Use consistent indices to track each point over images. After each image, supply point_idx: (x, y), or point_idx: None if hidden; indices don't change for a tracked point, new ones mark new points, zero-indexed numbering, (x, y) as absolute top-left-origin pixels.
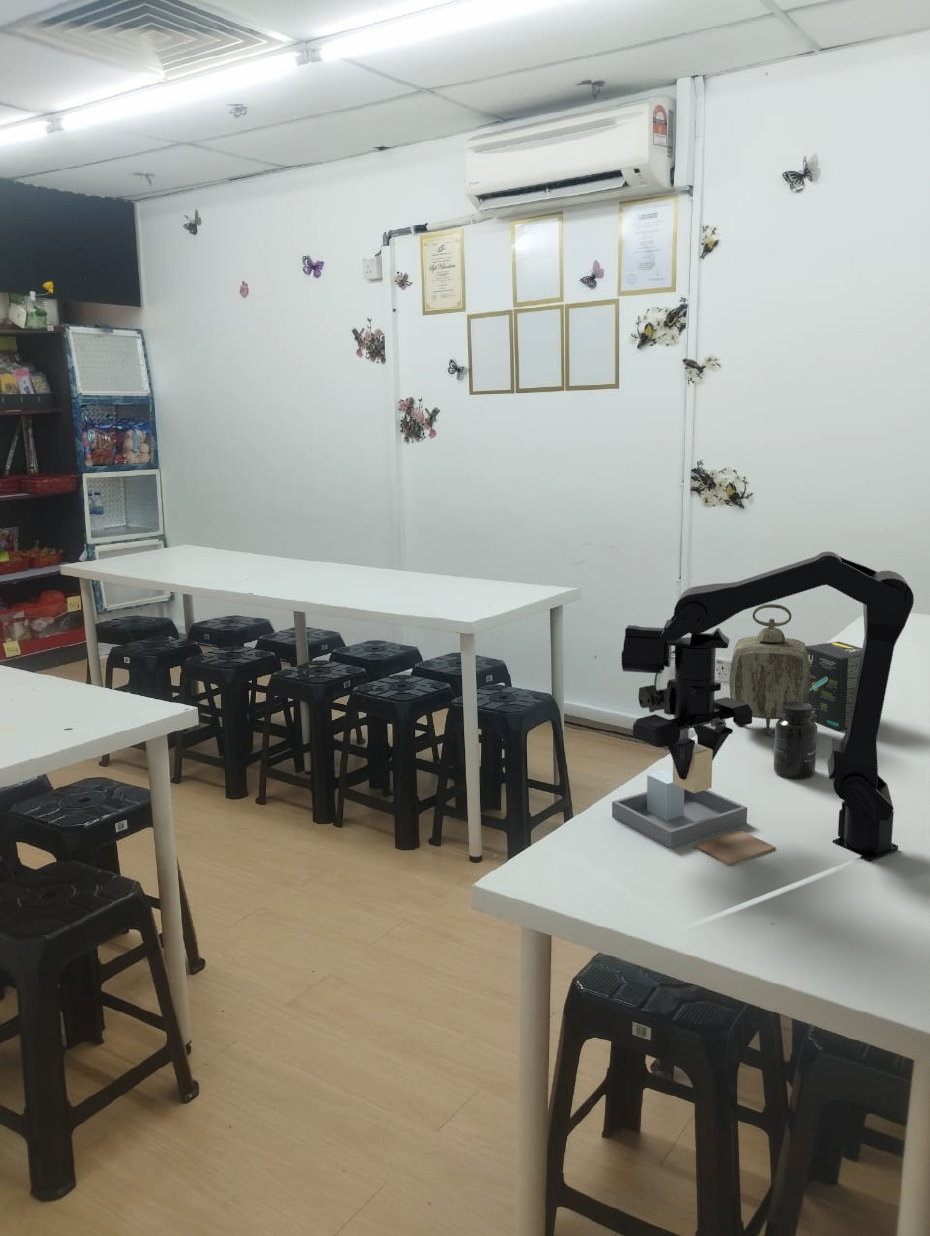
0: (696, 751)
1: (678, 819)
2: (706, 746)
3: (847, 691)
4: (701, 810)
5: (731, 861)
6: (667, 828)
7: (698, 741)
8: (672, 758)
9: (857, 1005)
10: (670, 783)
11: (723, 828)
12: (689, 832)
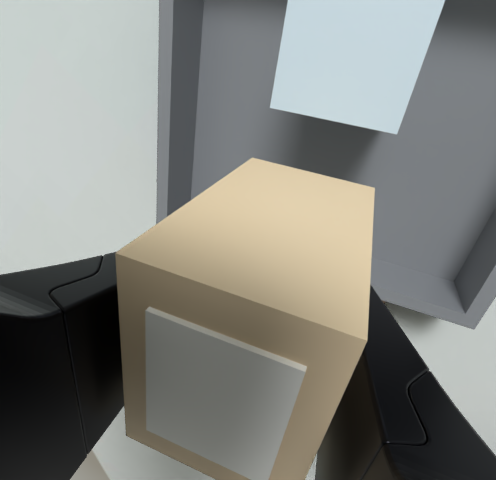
0: (172, 436)
1: None
2: (332, 473)
3: None
4: (480, 134)
5: None
6: (165, 208)
7: (368, 426)
8: (110, 254)
9: (109, 475)
10: (292, 112)
11: None
12: None
